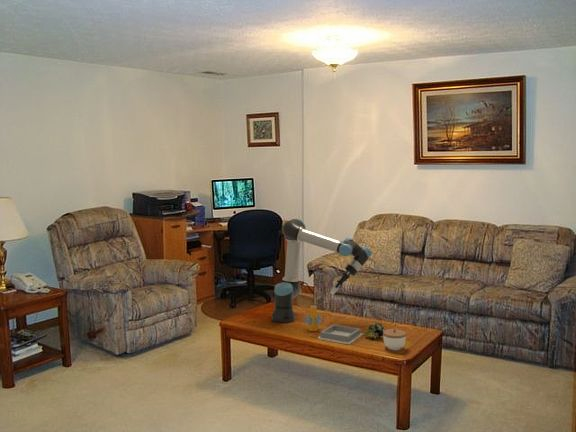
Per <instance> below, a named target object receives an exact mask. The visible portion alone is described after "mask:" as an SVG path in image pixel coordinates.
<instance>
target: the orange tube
mask: <svg viewBox="0 0 576 432" xmlns="http://www.w3.org/2000/svg"><path fill="white" fill-rule="evenodd" d="M309 311H310V313H309V315H305V316H304V317H303V321H304V323H306V324H307V325H308V331H309V332H318V331H319V325H320V324H322V323H324V318H323V316H320V315H319V314H318V306H317V305H310V309H309ZM306 318H307V321H306ZM320 319H321V321H320Z"/></svg>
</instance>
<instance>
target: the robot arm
mask: <svg viewBox="0 0 576 432" xmlns="http://www.w3.org/2000/svg"><path fill="white" fill-rule="evenodd" d="M281 232H282V234H283V236H284V239H285V241H286V242H287V244H286V256H285V257H286V258H285V265H284V266H285V268H284V269H285V270H284V276H283V277H282V278H281V279H282V280H281V282H278V283H277V284H275V286H274V290H273V291H274V309H273V311H272V314H271V321H272V322H275V323H281V324H286V323H287V324H288V323H292V322H295V321H296V316H295V311H294V309H293V299H295V298H297V297H298V296H299V294H300V293H301V289H302V288H301V287H302V286H301V284H300V278H299V276H298V275H299V263H300V249H301V243H302V242H304V243H307V244H310V245H313V246H317V247H319V248H322V249H325V250H328V251H331V252H334V253H337V254H340V255H341V256H342V257H348V256H350V255H352V256H353V258H352V259H351V260H350V262H349V263H348V264H347V265H346V267H344V270H345V272H344V273H343V274H342V275H341V278H339V280H337V281H336V283H335V284H334V286H333V287H332V288H331V289H330V292H329V294H331V295H332V296H334V295H335V294H336V292H337V291H338V290H339V289H341V288H342V287H341V286H342V285H343V284H344V282H347V280H348V279H350V275H351V276H355V275H356V274H357V273H358V272H359V271H360V270H362V267H363V266H364V265H365V264H366V262H367V261H369V259H370V257H371V256H373V255H372V254H373V252H372V251H371V250H370V248H369V247H367V246H364V245H363V247H361V246H360V245H359V244H358V243H357V242H355V241H354V240H353V239H352V238H351V237H349V236H346V238H344V240H343V241H341V240H339V239H335V238H332V237H329V236H327V235H323V234H320V233H317V232H314V231H310V230H308V229H306V224H305V222H304V221H302V219H299V218H293V219H289V220H288V221H285V223H284V224H283V225H282V228H281Z"/></svg>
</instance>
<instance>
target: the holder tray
mask: <svg viewBox="0 0 576 432" xmlns="http://www.w3.org/2000/svg"><path fill="white" fill-rule="evenodd" d="M363 335H364V333H362V331H361V328H358V327H352V326H346V325H340V324H331V325H330V326H329V327H327V328H325V329H323V330H321V331H320V333H319V336H318V337H317V340H322V341H328V342H333V343H338V344H343V345H351V344H353V343H354V342H355V341H356V340H358V339H360V337H362V336H363Z"/></svg>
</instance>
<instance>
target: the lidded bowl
mask: <svg viewBox="0 0 576 432" xmlns="http://www.w3.org/2000/svg"><path fill="white" fill-rule="evenodd" d="M406 337H407V333H406V332H405V331H404V330H402V329H397V328H390V329H385V330H384V331H383V336H382V339H383V344H384V345H385V347H386V348H387V349H388V350H391V351H400V350H401V349H402V348H403V347H404V346H405V343H406V339H407V338H406Z"/></svg>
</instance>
